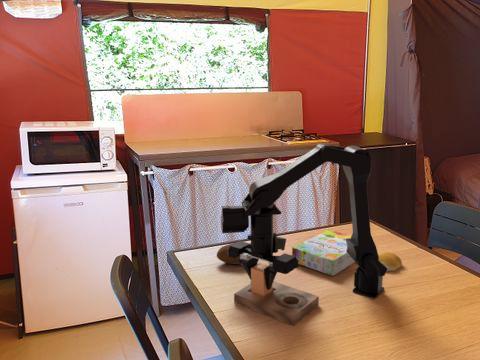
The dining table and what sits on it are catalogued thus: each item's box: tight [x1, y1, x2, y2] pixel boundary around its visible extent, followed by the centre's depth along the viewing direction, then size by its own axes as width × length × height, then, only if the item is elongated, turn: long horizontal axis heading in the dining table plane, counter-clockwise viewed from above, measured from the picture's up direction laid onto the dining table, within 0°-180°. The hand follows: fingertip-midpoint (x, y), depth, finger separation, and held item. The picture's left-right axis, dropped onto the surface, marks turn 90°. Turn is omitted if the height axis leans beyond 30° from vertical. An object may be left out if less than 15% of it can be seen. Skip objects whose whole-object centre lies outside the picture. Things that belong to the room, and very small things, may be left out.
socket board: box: [233, 280, 320, 327], centre depth 116 cm, size 18×12×2 cm, turn 51°
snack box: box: [291, 229, 355, 277], centre depth 142 cm, size 21×6×15 cm
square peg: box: [250, 262, 273, 297], centre depth 117 cm, size 4×4×8 cm
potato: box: [216, 241, 242, 265], centre depth 139 cm, size 7×12×7 cm, turn 95°
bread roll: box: [378, 251, 403, 272], centre depth 137 cm, size 8×9×4 cm
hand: (261, 286), depth 118 cm, fingers open, 4 cm apart
